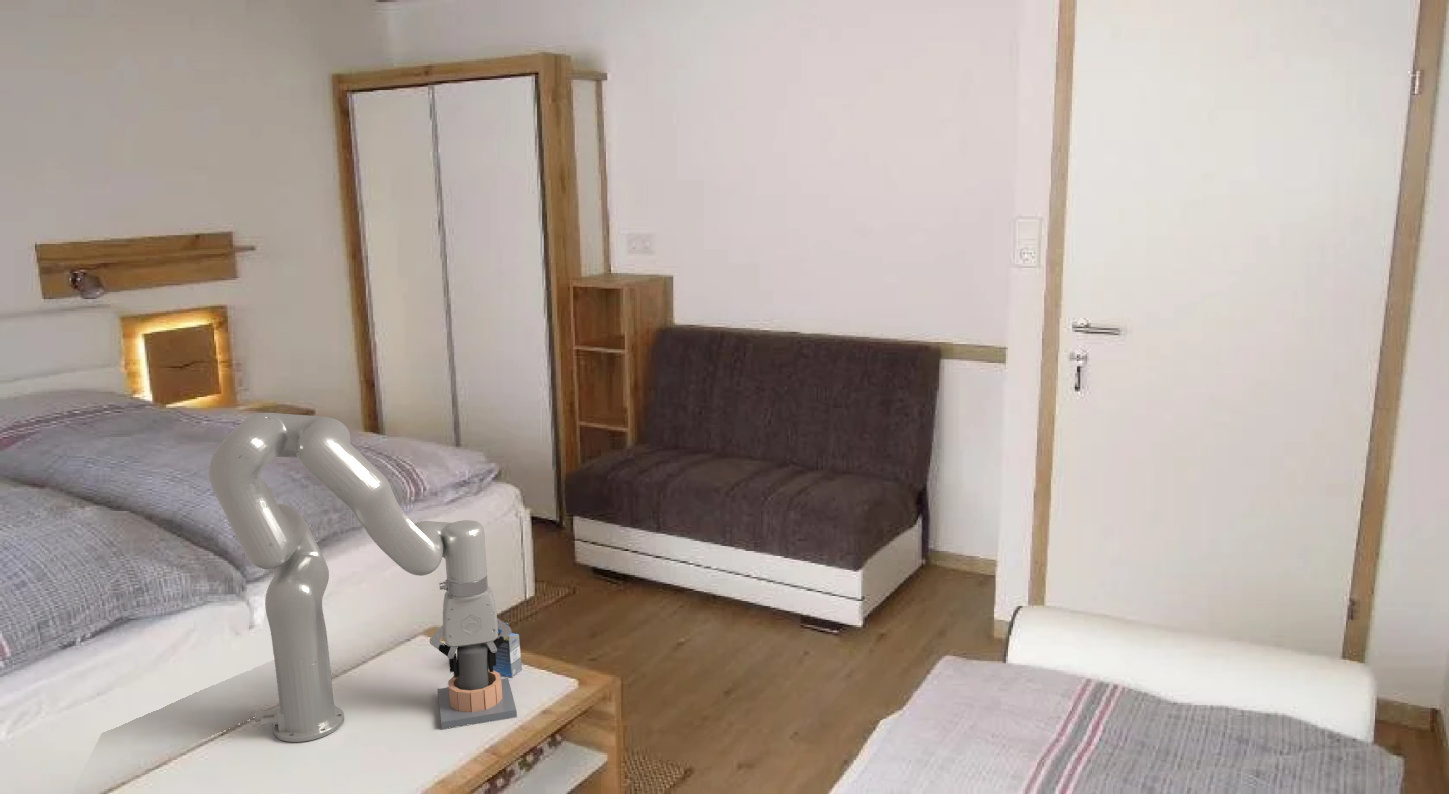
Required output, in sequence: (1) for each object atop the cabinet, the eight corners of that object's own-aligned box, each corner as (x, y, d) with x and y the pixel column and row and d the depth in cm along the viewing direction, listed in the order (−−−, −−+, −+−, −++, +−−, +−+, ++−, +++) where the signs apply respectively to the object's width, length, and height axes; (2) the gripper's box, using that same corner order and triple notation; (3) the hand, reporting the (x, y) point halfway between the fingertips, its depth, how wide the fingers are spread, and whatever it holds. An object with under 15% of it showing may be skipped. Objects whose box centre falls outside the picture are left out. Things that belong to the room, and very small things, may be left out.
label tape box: (522, 670, 221) (519, 616, 219) (511, 679, 218) (507, 623, 215) (488, 663, 225) (485, 609, 223) (476, 671, 222) (473, 616, 219)
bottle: (492, 692, 209) (491, 620, 206) (482, 705, 203) (481, 632, 200) (464, 689, 209) (462, 619, 206) (453, 703, 203) (451, 630, 201)
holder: (441, 729, 198) (439, 702, 197) (438, 695, 211) (436, 670, 210) (516, 717, 202) (515, 690, 201) (508, 684, 215) (506, 659, 214)
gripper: (421, 598, 195) (428, 687, 199) (515, 586, 201) (520, 673, 204) (420, 584, 202) (426, 670, 206) (510, 573, 208) (515, 657, 211)
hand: (473, 671), depth 205 cm, fingers open, 6 cm apart
